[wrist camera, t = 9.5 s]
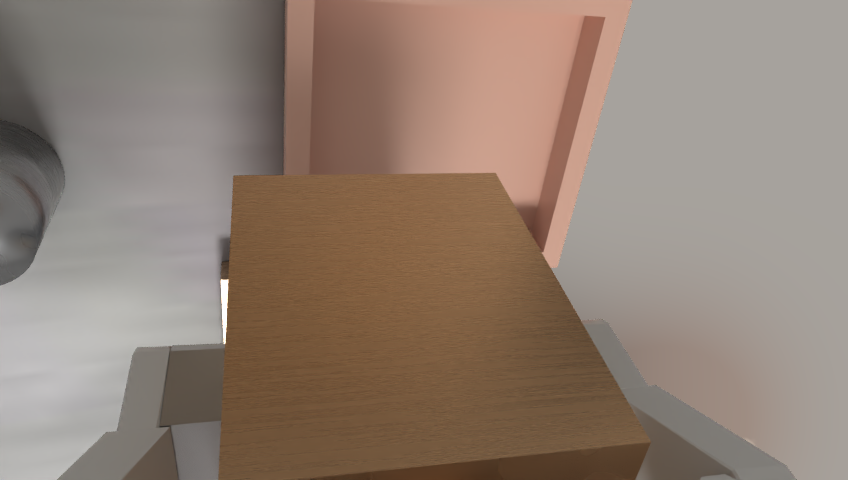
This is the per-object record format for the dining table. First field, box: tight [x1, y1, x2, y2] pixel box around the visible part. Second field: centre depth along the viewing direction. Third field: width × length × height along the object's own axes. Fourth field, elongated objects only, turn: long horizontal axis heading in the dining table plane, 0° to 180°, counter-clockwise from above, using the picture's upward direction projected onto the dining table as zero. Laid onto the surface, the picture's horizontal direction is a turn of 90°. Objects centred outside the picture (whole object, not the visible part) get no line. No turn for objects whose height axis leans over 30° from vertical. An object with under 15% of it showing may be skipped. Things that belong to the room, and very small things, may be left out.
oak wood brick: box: [218, 173, 651, 480], centre depth 10 cm, size 4×4×7 cm
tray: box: [283, 0, 632, 268], centre depth 32 cm, size 14×14×2 cm
